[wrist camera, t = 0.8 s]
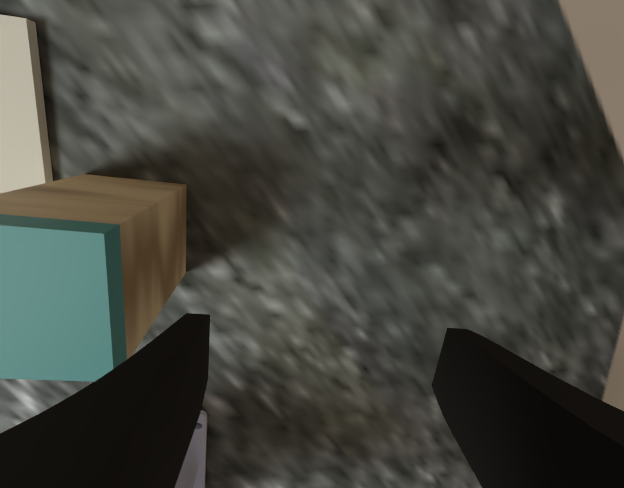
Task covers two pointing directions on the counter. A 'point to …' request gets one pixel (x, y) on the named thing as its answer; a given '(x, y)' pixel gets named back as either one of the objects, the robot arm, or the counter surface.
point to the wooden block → (85, 272)
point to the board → (22, 108)
